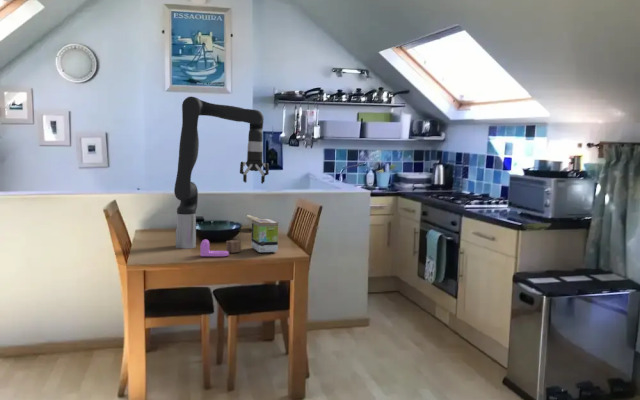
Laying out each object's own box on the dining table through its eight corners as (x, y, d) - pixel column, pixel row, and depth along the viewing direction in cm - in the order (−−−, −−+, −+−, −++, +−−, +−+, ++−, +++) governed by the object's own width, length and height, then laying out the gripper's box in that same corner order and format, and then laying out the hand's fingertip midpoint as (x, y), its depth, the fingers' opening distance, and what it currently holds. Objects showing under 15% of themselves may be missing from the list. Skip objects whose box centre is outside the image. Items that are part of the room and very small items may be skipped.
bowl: (270, 233, 320) (270, 216, 319) (246, 233, 318) (246, 216, 317) (268, 229, 335) (269, 213, 334) (246, 229, 333) (246, 213, 332)
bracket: (200, 256, 251) (200, 241, 251) (201, 253, 257) (201, 239, 256) (228, 256, 253) (228, 241, 252) (229, 253, 258) (229, 239, 258)
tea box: (278, 251, 265) (278, 222, 263) (258, 253, 261) (258, 222, 260) (269, 246, 279) (270, 218, 277) (250, 247, 275) (251, 218, 274)
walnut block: (234, 249, 268) (226, 251, 264) (234, 240, 267) (226, 241, 264) (240, 251, 264) (231, 252, 261) (240, 241, 264) (232, 242, 260)
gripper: (239, 150, 266) (238, 182, 268) (268, 151, 266) (266, 184, 267) (242, 149, 274) (241, 181, 275) (270, 151, 273) (268, 183, 275)
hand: (253, 183), depth 271 cm, fingers open, 8 cm apart
